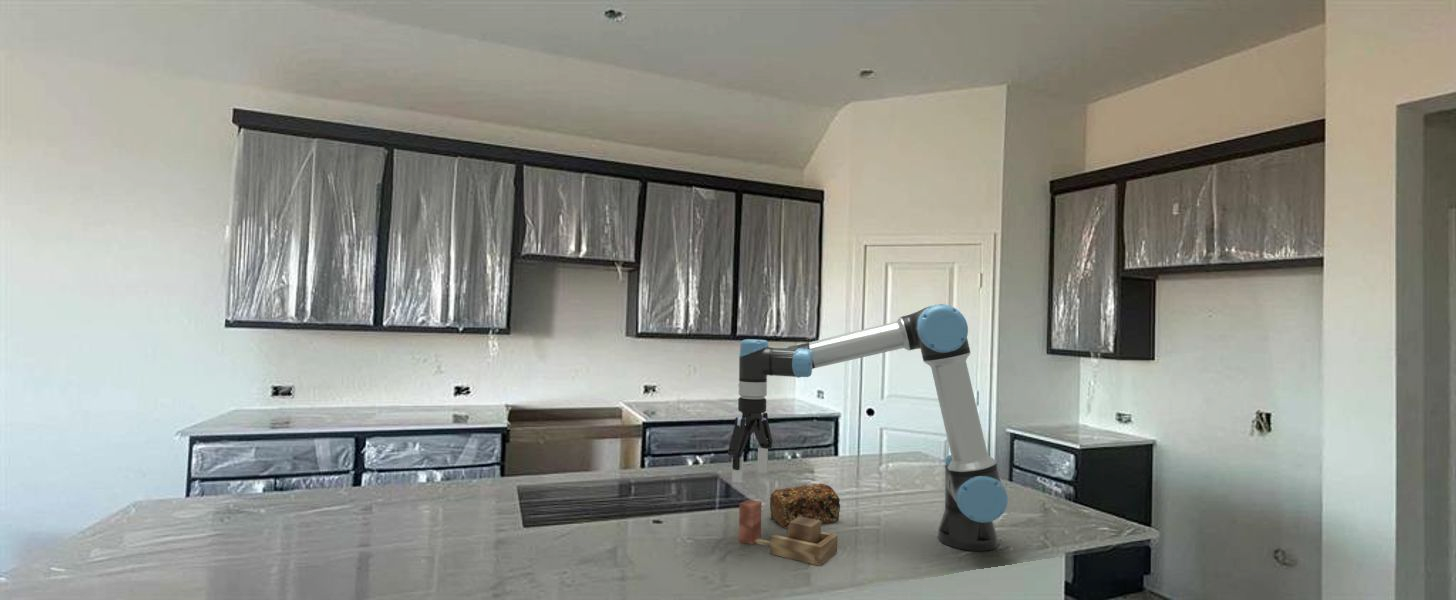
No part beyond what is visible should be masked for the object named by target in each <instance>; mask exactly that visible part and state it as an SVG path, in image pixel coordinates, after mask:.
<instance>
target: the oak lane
mask: <svg viewBox="0 0 1456 600" xmlns="http://www.w3.org/2000/svg"><path fill="white" fill-rule="evenodd" d="M838 536H839V535H838V534H837V533H836V534H835V533H831V532H826V531H822V530H821V542H819V543H818V544H815V543H810V542H806V541H801V540H797V539H792V538H789V525H788V526H787V528H786V536H783V535H777V534H772V535H770V541H771V547H770V555H773V556H778V557H782V558H786V559H791V560H795V561H799V562H803V563H808V564H812V565H817V566H822V565H823V564H825V563H826V562H827V561H829V560H830V559H831V558H832V557H834V555H836V554H838Z"/></svg>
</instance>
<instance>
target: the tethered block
mask: <svg viewBox="0 0 1456 600" xmlns="http://www.w3.org/2000/svg"><path fill="white" fill-rule="evenodd" d="M738 507H739V511H738V512H739V513H738V515H739V517H738V518H739V519H738V542H739V543H742V542H743V544H746V543H747V545H750V546H752V545H754V544H756V543H757V545H760V546H761V545H762V546H765V547H769V546H770V548H771V540H766V539H762V537H761V536H762V501H759V500H753V499H746V500H745V501H742V502H740V503H739V506H738ZM821 531H822V524H821V520H816V519H811V518H806V517H801V516H799V517H798V518H796V519H794V520H793V521H791V522H789V538H792V539H797V540H801V541H806V542H810V543H815V544H818V543H819V542H821Z"/></svg>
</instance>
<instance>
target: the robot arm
mask: <svg viewBox="0 0 1456 600" xmlns="http://www.w3.org/2000/svg"><path fill="white" fill-rule="evenodd" d="M968 333H969V326H968V322H967V320H966V318H965V316H964V315H963V313H961V311H960V310H958V309H957V308H955V307H953V306H952V305H948V304H944V303H940V304H934V305H930V306H927V307H924V308H922V309H920V310H918V311H915V312H912V313H910V314H905V315H903V316H899V317H898V319H897V320H896V321H893V322H889V323H885V324H884V323H883V324H879V325H876V326H872V327H868V328H864V329H861V330H860V329H859V330H856V331H851V332H847V333H843V334H839V335H834V336H829V337H826V338H821V339H819V340H813V341H810V342H805V343H802V344H800V343H799V344H797V345H790V346H788V347H770V346H769V343H768V340H765V339H753V338H752V339H751V338H750V339H749V338H748V339H743V340H742V341H741V342H740V350H739V356H738V358H739V360H738V361H739V362H738V363H739V366H738V368H739V369H738V370H739V371H738V377H739V378H738V396H739V397H738V399H737V400H738V401H737V402H738V407H737V410H738V412H740V413H741V417H738V416H737V417H735V418H734V419H735V420H734V427H733V430H732V434H731V439H730V443H729V446H728V449H727V455H728V456H729V457H732V471H731V473H732V475H731V476H732V478H731V479H732V480H731V482H732V483H733V482H734V483H739V484H743V481H744V480H743V479H744V476H743V475H744V456H743V453H744V451H745V448H746V445H747V443H748V440H749V438H750V436H752V434H753V433H754V436H755V437H756V441H757V442H758V445H759V447H757V469H756V470H757V472H760V473H768V465H769V464H768V463H769V460H768V458H769V456H768V455H769V449H772V447H773V437H772V433H771V430H770V429H771V428H770V425H769V414H768V412H766V411H767V399H766V398H765V397H767V395H768V394H767V393H768V392H767V391H768V390H767V387H768V384H767V383H768V378H767V377H768V376H771V377H773V376H774V377H775V376H776V377H789V378H790V377H792V378H793V377H794V378H809V377H811V375H812V373H813V369H817V368H821V367H826V366H831V365H835V364H839V363H843V362H850V361H852V360H857V359H862V358H866V357H870V356H871V357H872V356H876V355H879V354H883V353H887V352H893V351H897V350H900V349H905V350H906V351H914V350H919V349H920V352H921V357H922V361H923V362H924V363H925V364H926V365H928V366H929V367H930V368H931V373H932V377H933V381H934V387H935V389H936V395H937V399H938V404H939V408H940V412H941V416H942V420H943V424H944V429H945V433H946V438H947V442H948V447H949V452H950V455H949V454H948V456H946V458H945V464H944V468H945V471H944V473H945V477H944V478H945V483H944V486H945V487H944V488H945V491H944V511H943V515H942V517H941V520H940V523H939V526H938V529H937V538H938V540H939V541H940V542H941V543H943V544H944V545H945V546H946V545H947V546H949V547H951V548H955V549H959V550H965V551H970V552H971V551H973V552H985V551H986V552H987V551H992V550H995V549H997V547H998V544H999V543H998V541H999V538H998V534H997V531H996V527H995V524H994V521H995V520H998V519H999V518H1000V517H1002V515H1003V514H1004V513H1006V512H1005V511H1006V510H1007V507H1008V505H1009V504H1008V502H1009V497H1008V493H1007V490H1006V487H1005V486H1004V485H1003V484H1002V481H1001V477H1000V474H999V468H998V465H997V464H998V463H997V461H996V459H994V457H993V458H992V456H990V455H989V454H988V450H987V447H986V442H985V438H984V433H983V429H982V424H981V420H980V416H979V412H978V407H977V404H976V403H977V401H976V399H975V395H974V389H973V386H972V381H971V378H970V373H969V369H968V364H967V359H968V358H969V356H970V355H971V349H970V345H969V341H968V340H969V339H968Z"/></svg>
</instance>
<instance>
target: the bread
mask: <svg viewBox="0 0 1456 600" xmlns="http://www.w3.org/2000/svg"><path fill="white" fill-rule="evenodd" d="M840 499H841V498H839V496H838V494H837V492H835V489H833V487H831V486H830V485H828V484H825V483H814V484H808V485H805V484H803V485H800V486H799V485H798V486H794V487H792V486H791V487H785V488H779V489H777V488H776V489H774V491H772V492H771V493H770V497H769V510H770V517H771V519H772V518H773V519H774V520H775V521H776V523H778V524H780V525H779V526H781V527H782V526H783V527H787V526H788V525H789V522H791V521H793V520H794V519H796V518H798V517H799V516H801V517H806V518H811V519H816V520H821V525H826V524H825V523H827V524H832V523H837V522H838V521H840V511H841V504H840ZM773 519H772V520H773ZM774 520H773V521H774ZM775 521H774V522H775ZM783 527H782V528H783Z"/></svg>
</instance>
